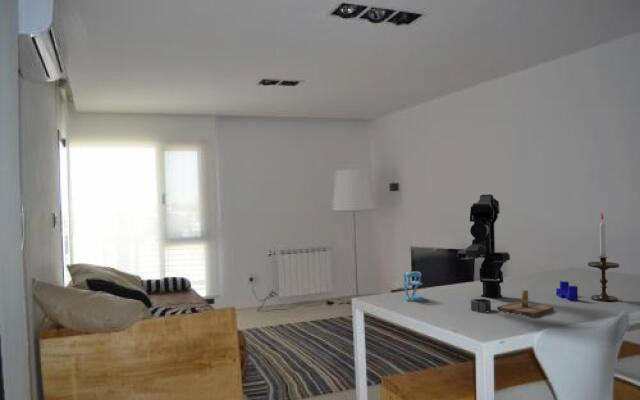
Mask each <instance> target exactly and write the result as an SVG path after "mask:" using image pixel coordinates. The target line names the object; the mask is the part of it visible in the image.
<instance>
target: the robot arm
mask: <svg viewBox="0 0 640 400" xmlns="http://www.w3.org/2000/svg"><path fill="white" fill-rule="evenodd" d="M499 203H500V201H499V200H497V199H496V198H494V195H493V194H489V193H488V194H481V195H479V200H478V201H477V202H474V203H472V205H471V206H470V210H469V211H470V213H469V222H471V223H473V224H472V225H471V226H470V229H469V230H470V231H469V232H470V235H471V236H472V237H473V238H474V239H472V240H471V244H470V245H469V246H467V247H466V248H465V249H461V250H460V249H459V250H458V251H457V253H456V255H457V256H456V257H457V258H458V259H460V260H461V261H463V263H464V264H465V265H466V267H467V270H468V272H469V275H470V277H471V278H473V277H474V276H475V269H476V268H475V267H476V266H475V264H476V259H479V258H480V259H481V258H483V261H482V262H481V264H480V267H479V282H480V283H482V294H480V296H481V297H484V298H491V299H497V298H500V297H503V295H502V293H501V292H502V287H501V284H502V283H504V275H503V271H502V267H503V265H504V264H505V263H507V261H510V260H511V255H510V254H509V252H507V251H498V252H497V251H496V240H495V239H496V237H495V235H496V234H495V233H496V231H495V223H497V220H498V218H499V215H500V213H501V211H500V204H499Z"/></svg>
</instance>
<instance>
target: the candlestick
mask: <svg viewBox="0 0 640 400" xmlns="http://www.w3.org/2000/svg"><path fill="white" fill-rule="evenodd" d="M600 219H601V220H600V221H601V222H600V223H599V254H600V256H598V258H599V261H590V262H587V267H591V268H597V269H599V271H600V270H601V279H599V283H600V284H601V286H600V288H601V293H600V294H594V295H590V297H591V298H590V299H591V300H592V301H596V302H601V303H602V302H603V303H604V302H606V303H614V302H618V297H617V296H613V295H608V293H607V288H608V286H607V284H608V279H606V271H607V270H609V269H617V268H620V264H619V263H617V262H611V261H607V258H608V259H609V256H606V255H607V254H606V252H607V251H606V249H607V248H606V223H604V215H603V212H601V214H600Z"/></svg>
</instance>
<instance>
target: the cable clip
mask: <svg viewBox="0 0 640 400" xmlns="http://www.w3.org/2000/svg"><path fill="white" fill-rule="evenodd" d="M569 283H570V282H569V281H568V280H567V281H566V280H565V281H561V280H560V281H559V288H557V287H556V289H555V291H556V292H555V294H556V295H555V296H557V297H558V298H560V299H566V300H567V301H569V302H578V301H579V296H578V295H579V293H578V292H579V291H578V286H577V285H570V284H569Z"/></svg>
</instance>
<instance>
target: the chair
mask: <svg viewBox="0 0 640 400" xmlns="http://www.w3.org/2000/svg"><path fill="white" fill-rule="evenodd" d="M413 277H414V280H411V279H410V278H413ZM403 278H404V280H403V281H402V284H403V288H404V292H405V298H406V302H419V301H420V302H421V301H425V300H426V299H425V297H423V296H419V295H416V292H417V289H418V287H419V286H423V282H421V278H422V273H421V271H411V272H409V271H406V272H403ZM417 278H418V280H417ZM411 286H414V289H413V291H412V293H411V298H409V293H408V292H409V291H408V288H407V287H411Z"/></svg>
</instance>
